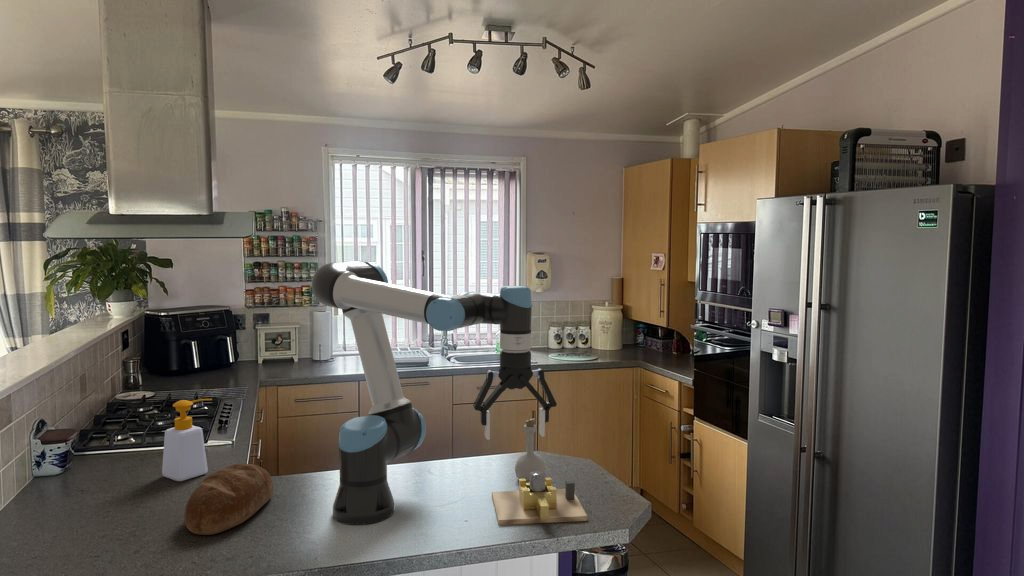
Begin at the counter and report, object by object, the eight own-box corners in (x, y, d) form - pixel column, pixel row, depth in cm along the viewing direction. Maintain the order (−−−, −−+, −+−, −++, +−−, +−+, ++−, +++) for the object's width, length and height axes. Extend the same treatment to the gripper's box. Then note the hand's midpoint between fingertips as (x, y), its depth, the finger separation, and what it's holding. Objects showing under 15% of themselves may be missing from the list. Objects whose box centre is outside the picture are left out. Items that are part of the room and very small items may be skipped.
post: (530, 511, 167) (531, 476, 166) (528, 505, 171) (528, 471, 170) (546, 510, 167) (546, 476, 166) (543, 504, 171) (544, 470, 170)
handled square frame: (519, 496, 172) (519, 478, 172) (550, 495, 173) (550, 477, 173) (527, 521, 157) (527, 501, 157) (561, 519, 158) (561, 500, 158)
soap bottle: (223, 469, 196) (221, 396, 195) (178, 483, 184) (176, 406, 183) (204, 463, 201) (202, 392, 200) (159, 477, 190) (157, 401, 188)
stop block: (566, 500, 171) (567, 483, 171) (565, 497, 173) (565, 480, 173) (574, 499, 171) (574, 483, 171) (572, 496, 173) (572, 480, 173)
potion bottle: (542, 486, 184) (543, 423, 182) (511, 484, 185) (511, 421, 184) (547, 475, 192) (547, 415, 191) (517, 473, 194) (517, 413, 193)
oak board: (498, 524, 159) (498, 520, 159) (491, 496, 176) (491, 491, 176) (587, 520, 161) (587, 515, 161) (571, 492, 179) (571, 488, 179)
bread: (167, 537, 152) (166, 489, 151) (231, 489, 181) (230, 449, 180) (233, 540, 150) (231, 491, 150) (286, 491, 180) (285, 451, 179)
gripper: (466, 354, 152) (466, 444, 153) (569, 351, 157) (568, 438, 158) (462, 349, 159) (461, 434, 161) (561, 346, 164) (559, 429, 166)
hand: (514, 436), depth 160 cm, fingers open, 13 cm apart
